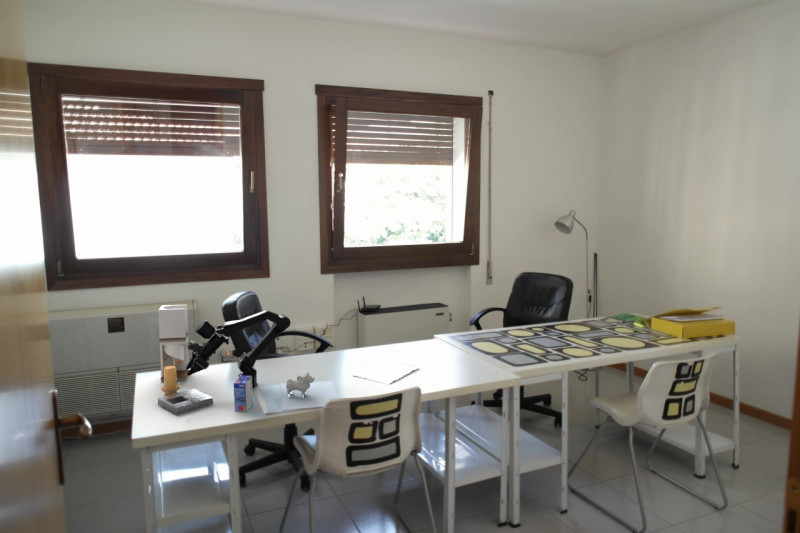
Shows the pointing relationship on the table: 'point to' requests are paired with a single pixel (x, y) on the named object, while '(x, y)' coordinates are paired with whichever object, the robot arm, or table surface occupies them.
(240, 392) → the ink cartridge box
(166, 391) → the orange flanged peg
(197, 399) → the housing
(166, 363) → the white dispenser
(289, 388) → the grey dog figurine
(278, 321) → the robot arm
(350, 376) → the table surface
